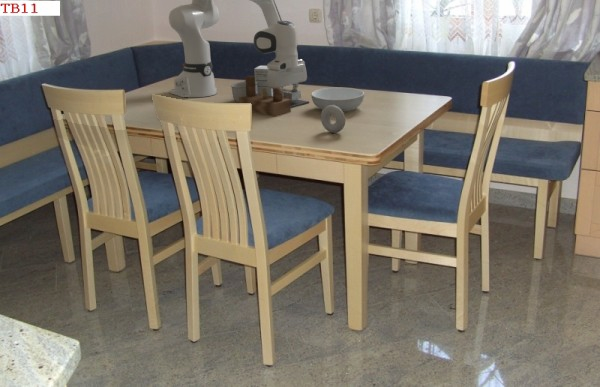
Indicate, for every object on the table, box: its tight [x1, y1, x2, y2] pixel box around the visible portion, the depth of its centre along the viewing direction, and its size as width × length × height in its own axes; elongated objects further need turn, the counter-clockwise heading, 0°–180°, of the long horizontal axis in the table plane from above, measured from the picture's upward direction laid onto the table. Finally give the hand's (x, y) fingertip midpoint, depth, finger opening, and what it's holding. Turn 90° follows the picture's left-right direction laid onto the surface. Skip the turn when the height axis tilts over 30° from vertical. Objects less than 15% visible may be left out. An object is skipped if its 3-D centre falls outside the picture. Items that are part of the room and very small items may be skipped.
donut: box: [320, 105, 346, 134], centre depth 261 cm, size 10×4×10 cm, turn 51°
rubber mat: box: [290, 99, 310, 109], centre depth 306 cm, size 12×12×1 cm
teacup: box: [230, 80, 258, 104], centre depth 311 cm, size 14×11×8 cm
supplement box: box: [253, 65, 273, 96], centre depth 318 cm, size 7×7×13 cm
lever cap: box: [282, 87, 302, 101], centre depth 304 cm, size 9×5×4 cm, turn 48°
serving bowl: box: [310, 86, 365, 113], centre depth 293 cm, size 21×21×7 cm
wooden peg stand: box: [238, 74, 292, 117], centre depth 294 cm, size 20×9×13 cm, turn 48°
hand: (288, 95), depth 305 cm, fingers closed on lever cap, 5 cm apart
